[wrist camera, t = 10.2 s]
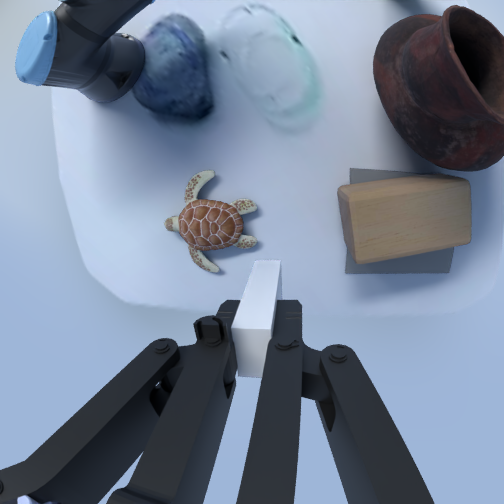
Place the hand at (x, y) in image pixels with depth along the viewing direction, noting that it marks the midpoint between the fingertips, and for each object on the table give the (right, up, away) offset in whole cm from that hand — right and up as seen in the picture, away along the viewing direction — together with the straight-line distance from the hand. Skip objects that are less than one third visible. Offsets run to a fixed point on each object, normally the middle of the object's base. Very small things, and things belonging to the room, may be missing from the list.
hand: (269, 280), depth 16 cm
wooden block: (+12, +6, +22) cm, 26 cm away
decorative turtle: (-8, +7, +32) cm, 33 cm away
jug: (+29, +28, +17) cm, 44 cm away
